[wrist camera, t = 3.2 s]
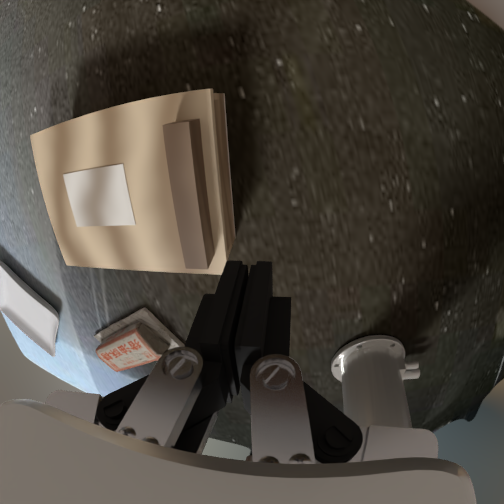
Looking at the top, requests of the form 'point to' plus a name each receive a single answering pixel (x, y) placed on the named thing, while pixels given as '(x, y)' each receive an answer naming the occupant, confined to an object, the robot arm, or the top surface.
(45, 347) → the salad plate
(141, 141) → the lid
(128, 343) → the packaged product
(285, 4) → the top surface
